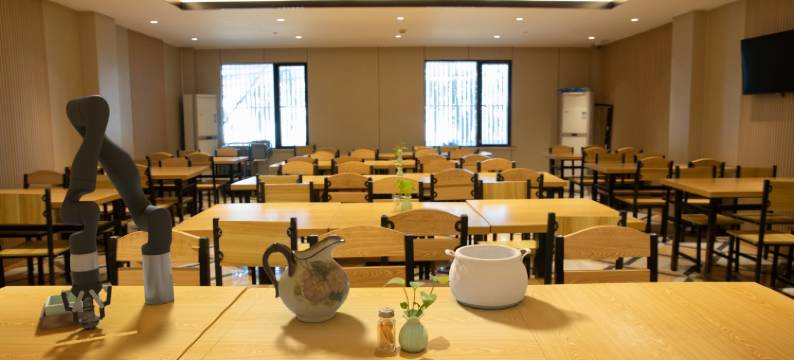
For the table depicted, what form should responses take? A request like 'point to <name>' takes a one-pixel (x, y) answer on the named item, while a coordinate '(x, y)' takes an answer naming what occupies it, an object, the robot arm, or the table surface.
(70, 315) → the box
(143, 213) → the robot arm
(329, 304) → the pitcher
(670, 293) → the table surface
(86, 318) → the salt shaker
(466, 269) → the pot
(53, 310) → the green crate
